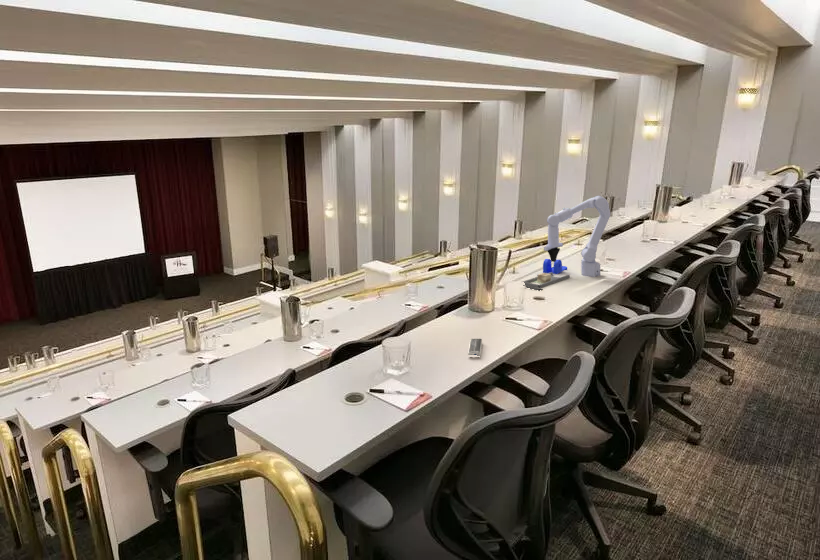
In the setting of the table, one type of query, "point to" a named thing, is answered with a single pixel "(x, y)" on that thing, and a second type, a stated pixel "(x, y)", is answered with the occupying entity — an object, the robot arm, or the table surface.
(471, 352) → the multiport hub
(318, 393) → the table surface
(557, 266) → the bracket
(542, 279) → the block
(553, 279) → the box
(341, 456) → the table surface
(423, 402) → the table surface
